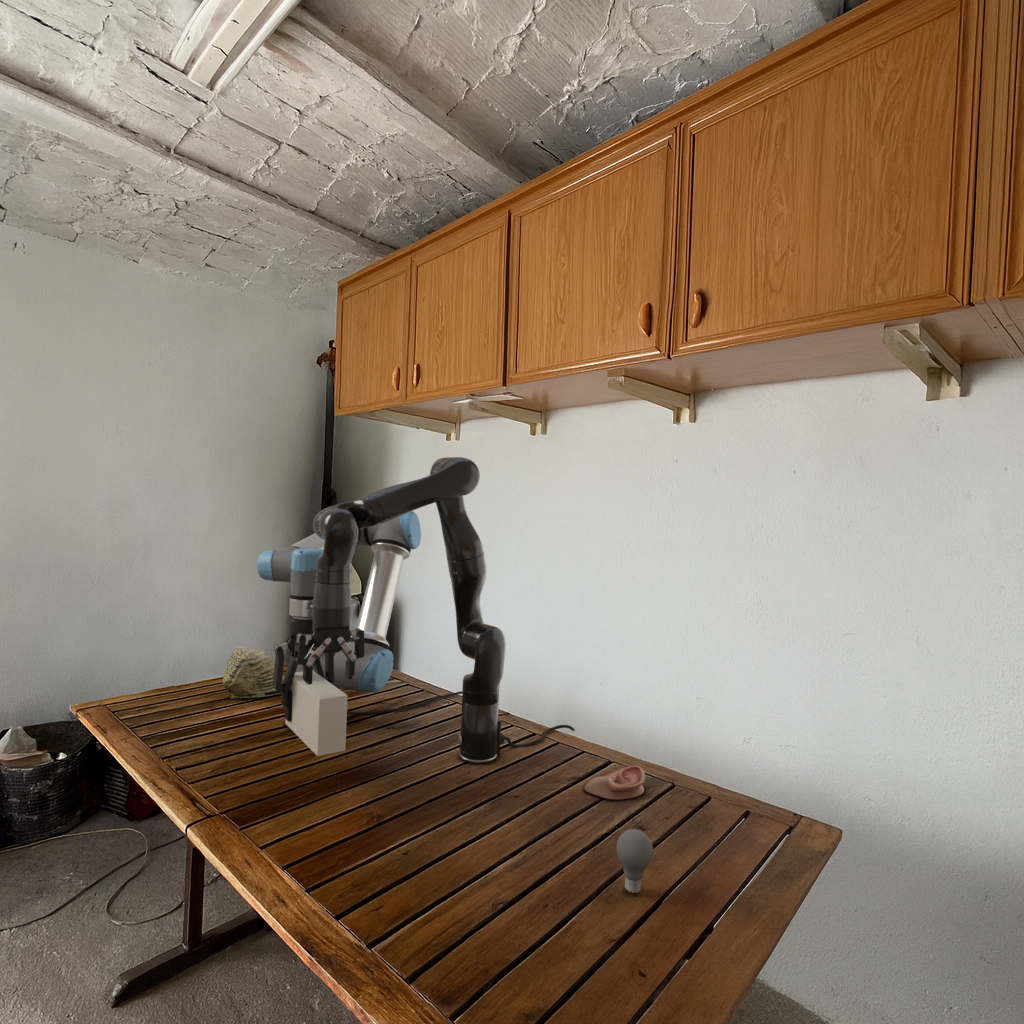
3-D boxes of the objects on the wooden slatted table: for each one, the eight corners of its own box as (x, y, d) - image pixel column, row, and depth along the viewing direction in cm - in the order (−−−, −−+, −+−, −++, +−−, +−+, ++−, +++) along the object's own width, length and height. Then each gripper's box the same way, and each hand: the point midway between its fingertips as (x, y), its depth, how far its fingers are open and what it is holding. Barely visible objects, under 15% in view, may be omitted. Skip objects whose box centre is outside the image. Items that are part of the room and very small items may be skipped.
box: (285, 723, 146) (287, 673, 146) (310, 718, 149) (312, 670, 149) (317, 756, 128) (319, 699, 128) (345, 750, 132) (347, 695, 132)
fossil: (218, 695, 195) (220, 647, 195) (278, 685, 208) (279, 640, 207) (228, 703, 189) (230, 653, 188) (289, 692, 201) (290, 645, 201)
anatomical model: (583, 778, 139) (588, 757, 150) (582, 795, 139) (587, 774, 150) (645, 786, 136) (645, 764, 147) (644, 804, 136) (644, 781, 148)
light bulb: (610, 879, 108) (613, 822, 108) (644, 879, 109) (647, 822, 109) (619, 902, 102) (622, 840, 102) (655, 901, 103) (658, 840, 103)
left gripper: (268, 622, 136) (264, 729, 136) (352, 616, 147) (348, 714, 148) (258, 616, 142) (255, 718, 142) (340, 610, 153) (336, 705, 154)
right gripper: (304, 608, 125) (300, 690, 125) (371, 604, 133) (368, 681, 134) (292, 602, 131) (289, 680, 131) (357, 599, 139) (354, 672, 140)
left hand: (302, 716), depth 145 cm, fingers closed on box, 6 cm apart
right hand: (329, 680), depth 132 cm, fingers open, 8 cm apart
